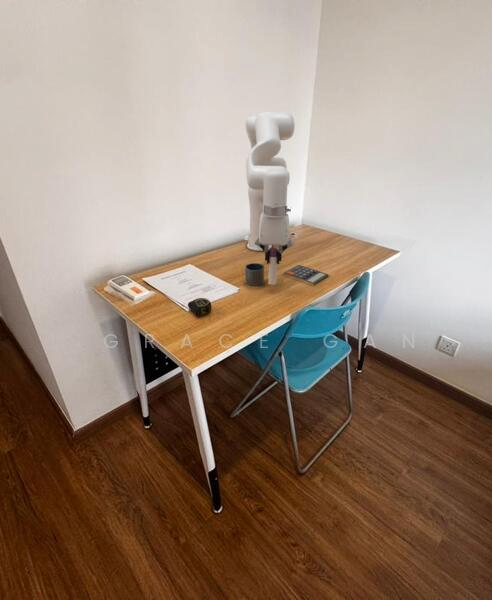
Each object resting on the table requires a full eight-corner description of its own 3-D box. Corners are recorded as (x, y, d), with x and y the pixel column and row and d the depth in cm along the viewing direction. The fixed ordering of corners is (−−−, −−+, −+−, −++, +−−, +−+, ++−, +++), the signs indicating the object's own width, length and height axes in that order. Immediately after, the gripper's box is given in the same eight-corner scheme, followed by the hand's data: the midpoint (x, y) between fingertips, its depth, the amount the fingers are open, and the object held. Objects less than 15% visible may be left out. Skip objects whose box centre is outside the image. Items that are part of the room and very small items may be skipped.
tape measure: (187, 310, 109) (186, 300, 107) (206, 304, 112) (205, 295, 110) (195, 319, 104) (194, 309, 102) (215, 313, 107) (214, 303, 105)
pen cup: (241, 285, 126) (241, 267, 122) (252, 278, 131) (252, 261, 128) (257, 290, 123) (257, 272, 119) (267, 283, 128) (267, 265, 124)
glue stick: (266, 283, 117) (267, 249, 111) (271, 280, 120) (272, 247, 113) (273, 285, 116) (275, 251, 110) (278, 282, 118) (279, 249, 112)
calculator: (298, 264, 143) (328, 273, 135) (298, 266, 143) (328, 275, 135) (283, 272, 135) (313, 283, 127) (283, 274, 135) (313, 285, 127)
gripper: (299, 208, 108) (295, 259, 117) (250, 206, 108) (251, 257, 117) (300, 214, 101) (296, 267, 110) (248, 212, 102) (249, 265, 111)
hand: (273, 262), depth 114 cm, fingers closed on glue stick, 3 cm apart
